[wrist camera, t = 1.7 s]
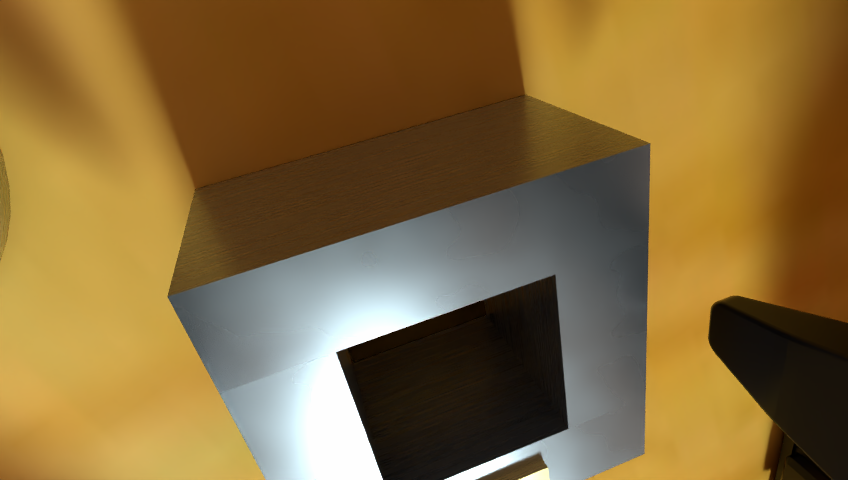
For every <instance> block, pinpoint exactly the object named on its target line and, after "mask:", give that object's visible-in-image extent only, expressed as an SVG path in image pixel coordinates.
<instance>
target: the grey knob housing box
mask: <svg viewBox="0 0 848 480" xmlns="http://www.w3.org/2000/svg"><path fill="white" fill-rule="evenodd" d="M649 182H650V143H648V142H645V141H643V140H640V139H638V138H635V137H633V136H630V135H627V134H625V133H622V132H620V131H617V130H615V129H612V128H610V127H607V126H604V125H602V124H599V123H597V122H594V121H592V120H589V119H587V118H584V117H581V116H579V115H576V114H574V113H571V112H569V111H566V110H564V109H561V108H558V107H556V106H553V105H551V104H548V103H546V102H543V101H541V100H538V99H535V98H533V97H530V96H528V95H524V96H520V97H517V98H513V99H510V100H506V101H503V102H499V103H496V104H492V105H489V106H485V107H482V108H478V109H475V110H471V111H468V112H464V113H461V114H457V115H454V116H450V117H447V118H443V119H440V120H436V121H433V122H429V123H426V124H422V125H419V126H415V127H412V128H408V129H405V130H401V131H398V132H394V133H391V134H387V135H384V136H380V137H377V138H373V139H370V140H366V141H363V142H359V143H356V144H352V145H349V146H345V147H342V148H338V149H335V150H331V151H328V152H324V153H321V154H317V155H314V156H310V157H307V158H303V159H300V160H296V161H293V162H289V163H286V164H282V165H279V166H275V167H272V168H268V169H265V170H261V171H258V172H254V173H251V174H247V175H244V176H240V177H237V178H233V179H230V180H226V181H223V182H219V183H216V184H212V185H209V186H205V187H202V188H198V189H195V193H194V197H193V201H192V204H191V208H190V212H189V216H188V220H187V224H186V228H185V231H184V235H183V239H182V243H181V247H180V251H179V254H178V258H177V262H176V266H175V270H174V274H173V277H172V281H171V285H170V289H169V293H168V298H169V300H170V302H171V304H172V306H173V308H174V310H175V312H176V313H177V315H178V317H179V319H180V321H181V323H182V325H183V326H184V328H185V330H186V332H187V334H188V336H189V338H190V339H191V341H192V343H193V345H194V347H195V349H196V351H197V352H198V354H199V356H200V358H201V360H202V362H203V364H204V366H205V367H206V369H207V371H208V373H209V375H210V377H211V379H212V380H213V382H214V384H215V386H216V388H217V390H218V392H219V393H220V395H221V397H222V399H223V401H224V403H225V405H226V407H227V408H228V410H229V412H230V414H231V416H232V418H233V420H234V421H235V423H236V425H237V427H238V429H239V431H240V433H241V434H242V436H243V438H244V440H245V442H246V444H247V446H248V447H249V449H250V451H251V453H252V455H253V457H254V459H255V461H256V462H257V464H258V466H259V468H260V470H261V472H262V474H263V475H264V477H265V479H266V480H585V479H587V478H589V477H592V476H594V475H596V474H599V473H601V472H603V471H606V470H608V469H610V468H613V467H615V466H617V465H619V464H622V463H624V462H626V461H629V460H631V459H633V458H636V457H638V456H640V455H643V454H644V444H645V391H646V339H647V287H648V234H649ZM481 300H484V304H485V310H486V316H483V317H480V318H477V319H474V320H472V321H469V322H466V323H463V324H460V325H458V326H455V327H452V328H449V329H447V330H444V331H441V332H438V333H435V334H433V335H430V336H427V337H424V338H422V339H419V340H416V341H413V342H410V343H408V344H405V345H402V346H399V347H397V348H394V349H391V350H388V351H385V352H383V353H380V354H377V355H374V356H372V357H369V358H366V359H363V360H360V361H358V362H355V363H352V361H351V358H350V355H349V353H348V350H347V348H349V347H351V346H354V345H357V344H360V343H363V342H366V341H368V340H371V339H374V338H377V337H380V336H383V335H385V334H388V333H391V332H394V331H397V330H400V329H402V328H405V327H408V326H411V325H414V324H416V323H419V322H422V321H425V320H428V319H431V318H433V317H436V316H439V315H442V314H445V313H448V312H450V311H453V310H456V309H459V308H462V307H465V306H467V305H470V304H473V303H476V302H479V301H481Z"/></svg>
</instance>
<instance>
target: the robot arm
mask: <svg viewBox="0 0 848 480" xmlns="http://www.w3.org/2000/svg"><path fill="white" fill-rule="evenodd" d="M708 339H709V343H710V346H711V348H712V349H713V351H714V352H715V354H716V355H717V356H718V357H719V358H720V359H721V361H722V362H723V363H724V364H725V365H726V367H727V368H728V369H729V370H730V371H731V372H732V374H733V375H734V376H735V377H736V378H737V380H738V381H739V382H740V383H741V384H742V385H743V387H744V388H745V389H746V390H747V391H748V393H749V394H750V395H751V396H752V397H753V398H754V400H755V401H756V402H757V403H758V404H759V406H760V407H761V408H762V409H763V410H764V411H765V412H766V414H767V415H768V416H769V417H770V418H771V419H772V420H773V421H774V422H775V423H776V424H777V426H778V427H779V428H780V429H781V430H782V431H783V432H784V433H785V435H784V440H783V444H782V449H781V454H780V459H779V463H778V468H777V473H776V477H775V480H848V323H846V322H842V321H838V320H834V319H830V318H826V317H822V316H817V315H813V314H809V313H805V312H801V311H797V310H793V309H789V308H785V307H781V306H777V305H773V304H769V303H765V302H761V301H757V300H753V299H749V298H745V297H741V296H730V297H728V298H725V299H722V300H720V301H717V302H715V303H714V304H713V305H712V307H711V312H710V323H709V334H708Z"/></svg>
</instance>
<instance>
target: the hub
mask: <svg viewBox="0 0 848 480" xmlns="http://www.w3.org/2000/svg"><path fill="white" fill-rule="evenodd" d="M9 221H10V194H9V183H8V178H7V174H6V169H5V164H4V160H3V156H2V153H1V150H0V260H1V257H2V254H3V251H4V248H5V245H6V241H7V236H8V229H9Z"/></svg>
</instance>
